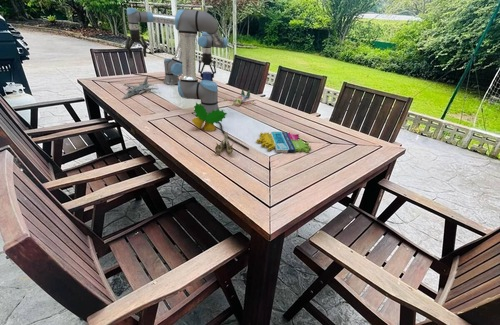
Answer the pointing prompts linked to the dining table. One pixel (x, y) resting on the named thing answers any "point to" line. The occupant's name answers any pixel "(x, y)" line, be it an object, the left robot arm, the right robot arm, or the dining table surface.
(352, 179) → the dining table surface
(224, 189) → the dining table surface
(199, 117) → the ornament
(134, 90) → the airplane
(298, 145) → the packaged colorful gloves
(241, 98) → the toy
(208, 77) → the cylinder
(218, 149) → the jawbone
